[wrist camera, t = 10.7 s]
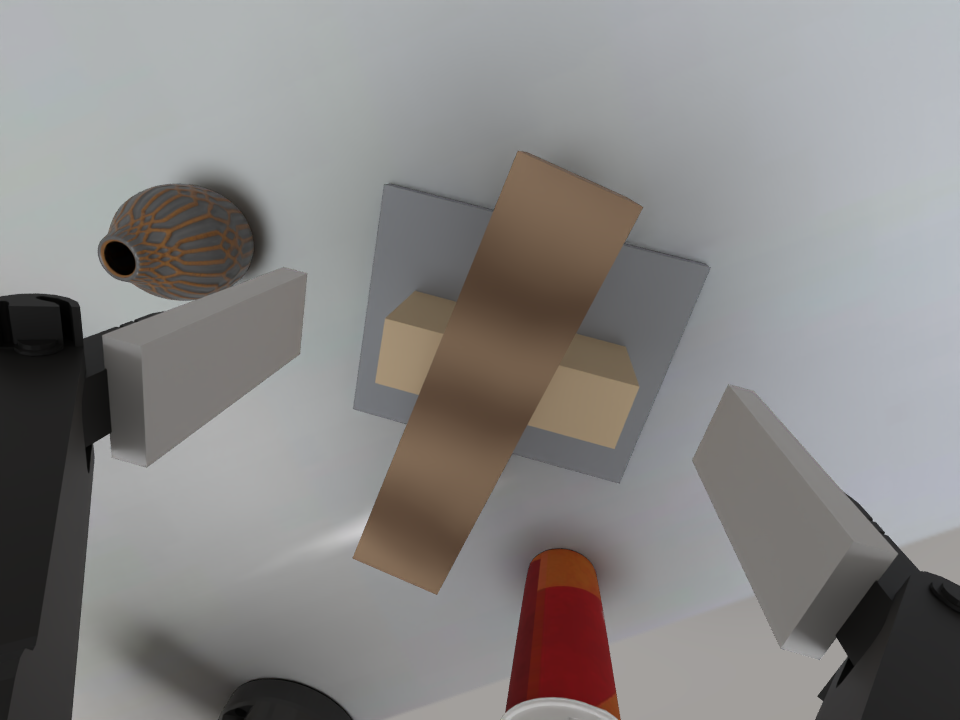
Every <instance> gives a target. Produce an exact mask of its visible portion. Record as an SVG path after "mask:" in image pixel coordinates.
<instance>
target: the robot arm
mask: <svg viewBox="0 0 960 720" xmlns="http://www.w3.org/2000/svg"><path fill="white" fill-rule="evenodd" d="M306 282H307V273H304V272H300V271H297V270H293V269H289V268H285V267H283V268H280V269H277V270H275V271H272V272H269V273H267V274H264V275H261V276H259V277H256V278H253V279H251V280H248V281H245V282H243V283H240V284H237V285H235V286H232V287H229V288H227V289H224V290H221V291H219V292H216V293H213V294H211V295H208V296H205V297H203V298H200V299H197V300H195V301H192V302H189V303H187V304H184V305H181V306H179V307H176V308H173V309H170V310H168V311H164V312H158V313H152V314H149V315H147V316H144V317H141V318H138V319H136V320H135V321H134V322H133V321H130V322H127V323H125V324H122V325H120V327H114V328H111V329H108V330H106V331H103V332H100V333H98V334H95V335H92V336H89V337H87V338H84V339H83V333H82V322H81V312H80V306H79V304H78V302H76V301H74V300H72V299H70V298H67V297H62V296H58V295H50V294H15V295H8V296H1V297H0V720H72V708H73V697H74V686H75V674H76V663H77V651H78V640H79V629H80V617H81V606H82V595H83V583H84V572H85V561H86V549H87V538H88V526H89V515H90V504H91V492H92V481H93V470H94V448H93V443H94V442H96V441H98V440H99V439H101V438H103V437H104V436H106V435H108V434H109V433H110V441H111V454H112V458H115V459H118V460H122V461H125V462H129V463H132V464H136V465H139V466H143V467H146V468H147V467H148V466H150V465H151V464H152V463H154V462H155V461H156V460H158V459H159V458H160V457H162V456H163V455H164V454H166V453H167V452H168V451H170V450H171V449H172V448H174V447H175V446H177V445H178V444H179V443H181V442H182V441H183V440H185V439H186V438H187V437H189V436H190V435H191V434H193V433H194V432H195V431H197V430H198V429H199V428H201V427H202V426H203V425H205V424H206V423H208V422H209V421H210V420H212V419H213V418H214V417H216V416H217V415H218V414H220V413H221V412H222V411H224V410H225V409H226V408H228V407H229V406H230V405H232V404H233V403H235V402H236V401H237V400H239V399H240V398H241V397H243V396H244V395H245V394H247V393H248V392H249V391H251V390H252V389H253V388H255V387H256V386H257V385H259V384H260V383H261V382H263V381H264V380H266V379H267V378H268V377H270V376H271V375H272V374H274V373H275V372H276V371H278V370H279V369H280V368H282V367H283V366H284V365H286V364H287V363H288V362H290V361H291V360H293V359H294V358H295V357H297V356H298V355H299V354H300V348H301V337H302V326H303V315H304V304H305V293H306ZM692 461H693V463H694V465H695V468H696V470H697V472H698V474H699V476H700V478H701V480H702V482H703V485H704V487H705V489H706V491H707V493H708V495H709V497H710V499H711V502H712V504H713V506H714V508H715V510H716V512H717V514H718V517H719V519H720V521H721V523H722V525H723V527H724V529H725V531H726V534H727V536H728V538H729V540H730V542H731V544H732V546H733V548H734V551H735V553H736V555H737V557H738V559H739V561H740V563H741V565H742V568H743V570H744V572H745V574H746V576H747V578H748V580H749V582H750V585H751V587H752V589H753V591H754V593H755V595H756V597H757V599H758V601H759V604H760V606H761V608H762V610H763V612H764V614H765V616H766V619H767V621H768V623H769V625H770V627H771V629H772V631H773V634H774V636H775V638H776V640H777V642H778V644H779V646H780V648H781V649H783V650H787V651H790V652H794V653H798V654H801V655H805V656H808V657H811V658H815V659H818V660H820V659H821V657H822V656H823V655H824V654H825V652H826V651H827V650H828V648H829V647H830V646H831V644H832V643H833V642H834V640H835V639H836V637H837V639H838V640H839V642H840V644H841V645H842V647H843V649H844V650H845V652H846V653H847V655H848V657H847V659H846V660H845V661H844V662H843V664H842V665H841V666H840V667H839V669H838V670H837V671H836V673H835V674H834V675H833V677H832V678H831V679H830V680H829V682H828V683H827V685H826V686H825V687H824V688H823V690H822V691H821V692H820V693H819V695H818V697H819V698H820V699H821V700H823V703H822V706H821V708H820V710H819V712H818V714H817V717H816V719H815V720H960V586H959V585H957V584H955V583H953V582H951V581H949V580H947V579H945V578H943V577H941V576H938V575H935V574H932V573H929V572H923V571H919V570H918V568H917V567H916V566H915V565H914V564H913V563H912V562H911V561H910V560H909V559H908V557H907V556H906V555H905V554H904V553H903V552H902V551H901V550H900V549H899V547H898V546H897V545H896V544H895V543H894V542H893V541H892V540H891V539H890V537H889V536H887V535H884V533H885V532H884V531H883V530H882V529H881V528H880V526H879V525H878V524H877V523H876V522H873V519H872V518H871V516H870V515H869V514H868V513H867V512H866V511H865V510H864V509H863V508H862V507H861V505H860V504H859V503H858V502H856V501H855V500H854V499H852V498H851V497H850V496H848V495H847V494H846V493H844V492H843V491H842V490H841V489H840V488H839V486H838V485H837V484H836V483H835V482H834V481H833V480H832V479H831V477H830V476H829V475H828V474H827V473H826V472H825V471H824V470H823V468H822V467H821V466H820V465H819V464H818V463H817V462H816V461H815V459H814V458H813V457H812V456H811V455H810V454H809V453H808V452H807V450H806V449H805V448H804V447H803V446H802V445H801V444H800V443H799V441H798V440H797V439H796V438H795V437H794V436H793V435H792V434H791V432H790V431H789V430H788V429H787V428H786V427H785V426H784V425H783V423H782V422H781V421H780V420H779V419H778V418H777V417H776V416H775V414H774V413H773V412H772V411H771V410H770V409H769V408H768V407H767V405H766V404H765V403H764V402H763V401H762V400H761V399H760V398H759V396H758V395H757V394H756V393H755V392H754V391H751V390H748V389H744V388H740V387H736V386H733V385H729V384H728V386H727V388H726V390H725V392H724V394H723V396H722V399H721V401H720V403H719V405H718V407H717V409H716V411H715V413H714V415H713V418H712V420H711V422H710V424H709V426H708V428H707V430H706V432H705V434H704V436H703V439H702V441H701V443H700V445H699V447H698V449H697V451H696V453H695V455H694V457H693V460H692ZM218 720H351V719H350V717H349V716H348V715H347V714H346V713H345V712H344V710H342V709H341V708H340V707H339V706H338V705H337V704H336V703H334V702H333V701H332V700H330V699H329V698H327V697H326V696H324V695H322V694H321V693H319V692H317V691H315V690H313V689H310V688H308V687H305V686H303V685H300V684H297V683H293V682H289V681H283V680H274V679H264V680H256V681H252V682H249V683H246V684H244V685H242V686H240V687H239V688H238V689H237V690H236V691H235V692H234V693H233V694H232V696H231V698H230V699H229V701H228V702H227V704H226V706H225V707H224V709H223V711H222V712H221V714H220V717H219V719H218Z"/></svg>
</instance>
